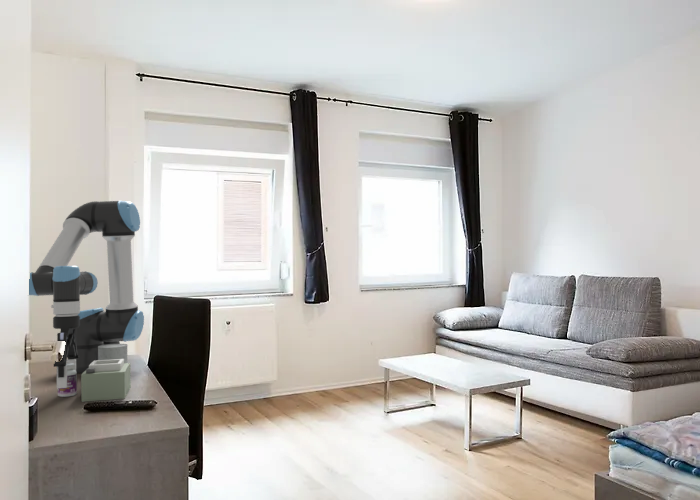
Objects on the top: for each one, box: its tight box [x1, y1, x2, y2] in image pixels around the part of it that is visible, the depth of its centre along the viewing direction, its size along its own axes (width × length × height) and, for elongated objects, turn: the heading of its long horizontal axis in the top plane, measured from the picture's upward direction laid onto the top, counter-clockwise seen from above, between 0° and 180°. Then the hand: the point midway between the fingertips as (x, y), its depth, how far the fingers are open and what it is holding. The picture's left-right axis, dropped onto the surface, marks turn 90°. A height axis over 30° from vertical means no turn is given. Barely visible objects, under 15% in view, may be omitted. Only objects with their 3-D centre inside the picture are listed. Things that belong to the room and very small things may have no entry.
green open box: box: [80, 359, 132, 403], centre depth 182 cm, size 16×12×10 cm
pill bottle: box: [57, 362, 78, 398], centre depth 181 cm, size 5×5×10 cm
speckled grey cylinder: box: [98, 343, 129, 363], centre depth 202 cm, size 10×10×12 cm
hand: (66, 383), depth 181 cm, fingers open, 13 cm apart
